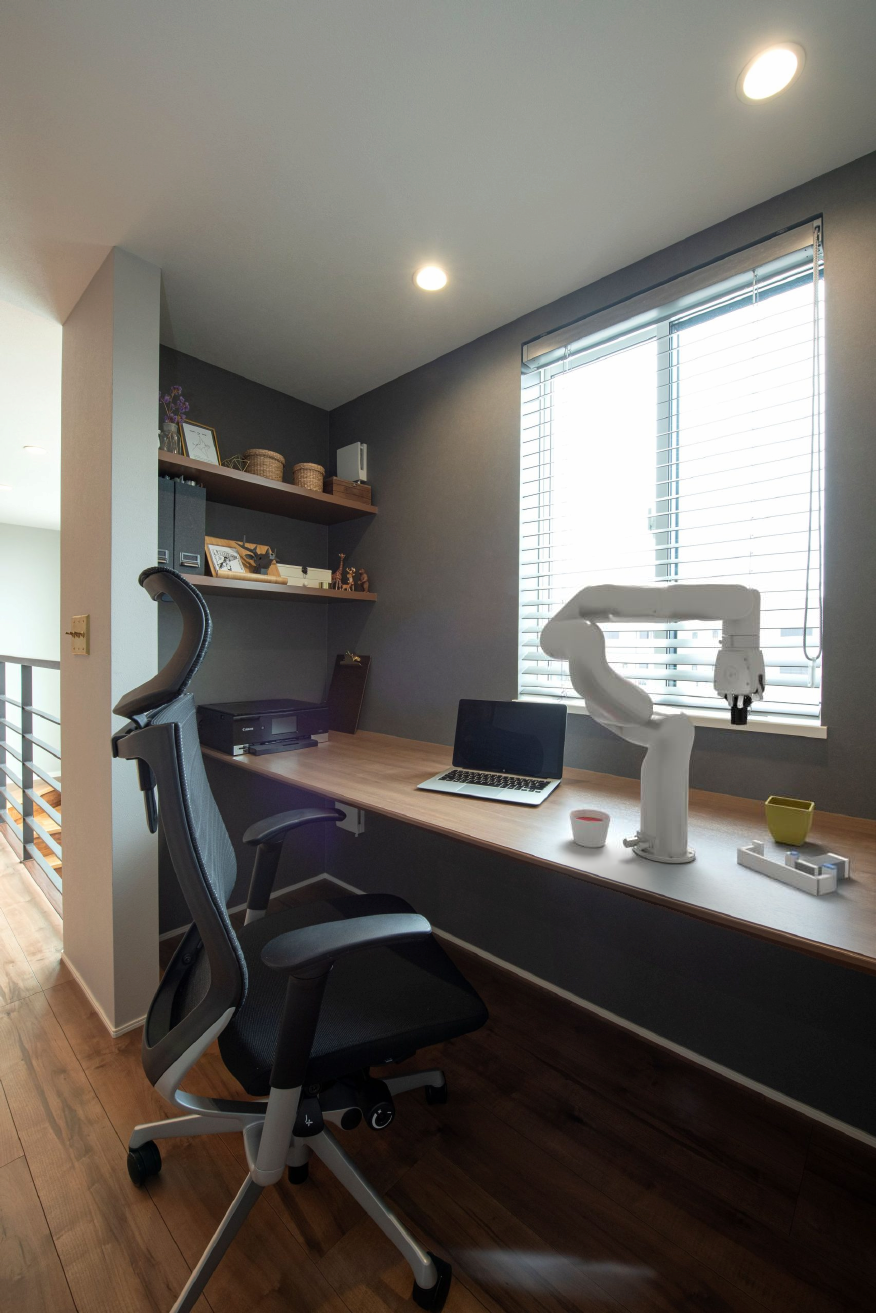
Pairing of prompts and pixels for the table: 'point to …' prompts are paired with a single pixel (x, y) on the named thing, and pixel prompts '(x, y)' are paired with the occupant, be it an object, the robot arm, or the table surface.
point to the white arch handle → (788, 870)
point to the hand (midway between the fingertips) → (738, 724)
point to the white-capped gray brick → (815, 863)
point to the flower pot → (789, 819)
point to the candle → (589, 827)
